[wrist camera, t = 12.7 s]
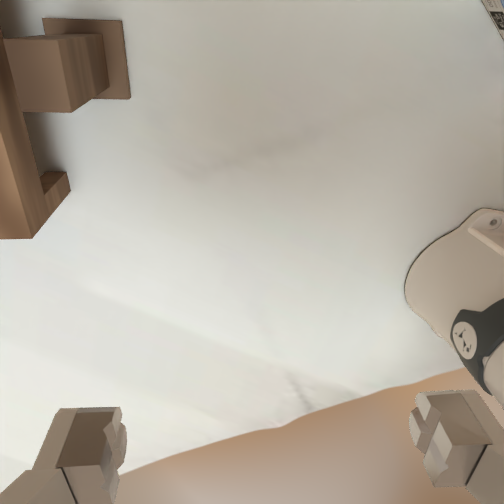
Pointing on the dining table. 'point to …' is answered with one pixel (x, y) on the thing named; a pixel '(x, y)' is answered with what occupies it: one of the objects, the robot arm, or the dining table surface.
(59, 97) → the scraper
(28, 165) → the wooden footstool
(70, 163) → the dining table surface
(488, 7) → the light bulb box
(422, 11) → the dining table surface
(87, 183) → the dining table surface
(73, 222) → the dining table surface
